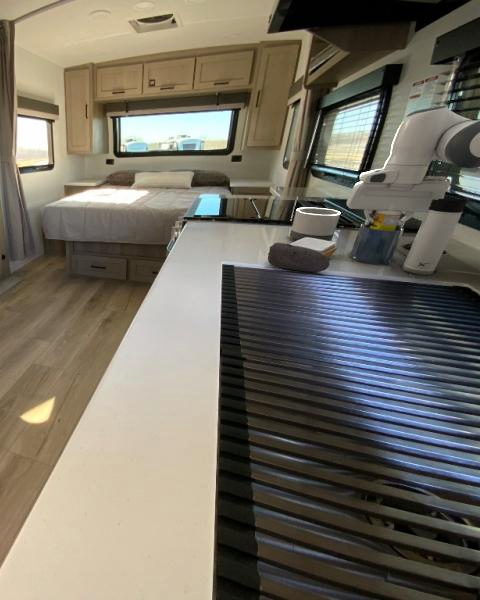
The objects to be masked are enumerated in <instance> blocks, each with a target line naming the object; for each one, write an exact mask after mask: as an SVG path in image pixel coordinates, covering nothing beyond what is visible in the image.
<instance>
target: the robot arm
mask: <svg viewBox="0 0 480 600" xmlns="http://www.w3.org/2000/svg"><path fill="white" fill-rule="evenodd" d="M434 160H437V161H440V162H443V163H447V164H452V165H454V166H457V167H459V168H462V169H476V168H477V169H478V168H480V119H477V120H473V119H471V118H467V117H464V116H462V115H459V114H457V113H455V112H454V111H452V110H451V109H450V108H449V107H448V106H446V105H441V106H440V105H439V106H434V107H428V108H422V109H418V110H415V111H412V112H410V113H409V114H407V115H406V116H405V117H404V118H403V120H402V121H401V123H400V125H399V127H398V128H397V131H396V133H395V136H394V138H393V141H392V144H391V147H390V155H389V157H388V158H387V160H386V161H385V163H384V166H383V167H381V168H378V169H374V170H369V171H365V172H361V174H360V175H359V181H358V182H356V183H355V185H354V186H353V187H352V188H351V191H350V193H349V195H348V197H347V200H346V204H345V205H346V206H347V207H348V209H351V210H363V213H364V216H365V221H364V223H365V225H371V226H372V225H373V222H374V219H373V218H372V217H371V215H372V214H373V211H376V210H388V207H389V205H390V204H398V205H397V208H396V209H397V210H395V211H401V212H404V213H403V214H404V216H403V217H401V218H400V219H399V221H398V223H397V226H396V227H401V228H404V226H405V223H406V222H407V221H409V220H410V219H411V218H412V217H413V216H414V215H415V213H427V210H428V209H429V207H430V206H431V205H430V204H431V202H432V200H433V199H435V200H438V199H445V195H446V192H447V191H448V190H449V188H450V186H451V180H450V178H447V177H446V176H444V175H440V176H434V175H426V174H427V171H428V168H429V167H430V164H431V162H432V161H434ZM370 214H371V215H370Z"/></svg>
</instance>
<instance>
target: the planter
mask: <svg viewBox="0 0 480 600" xmlns="http://www.w3.org/2000/svg"><path fill="white" fill-rule="evenodd" d="M341 213H342V212H340V211H338V210H335V209H329V208H321V207H299V208H297V209H296V210H295V214H294V217H293V221H292V225H291V229H290V233H289V236H290V237H291V238H292V239H294V240H296V241H298V240H300V239H303V238H305V237H309V238H315V239H320V240H326V241H331V242H332V240H333V238H334V236H335V231H336V229H337V226H338V223H339V220H340V216H341Z"/></svg>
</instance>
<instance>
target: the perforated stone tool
mask: <svg viewBox="0 0 480 600" xmlns="http://www.w3.org/2000/svg"><path fill="white" fill-rule="evenodd" d="M290 244H291V243H290ZM290 244H289V243H285V242H275V243H273V244H272V245H270V246H269V250H268V253H267V261H268V264H270V265H271V266H273V267H277V268H281V269H286V270H292V271H296V272H297V271H298V272H299V271H300V272H306V273H320V272H323V271H326V270H327V269H328V268H329V267H330V263H331V262H330V258H327V257H326V256H325V255H323V254H322V253H320V252H318V251H315V250H312V249H309V248H305V247H301V246H294V245H290Z"/></svg>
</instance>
